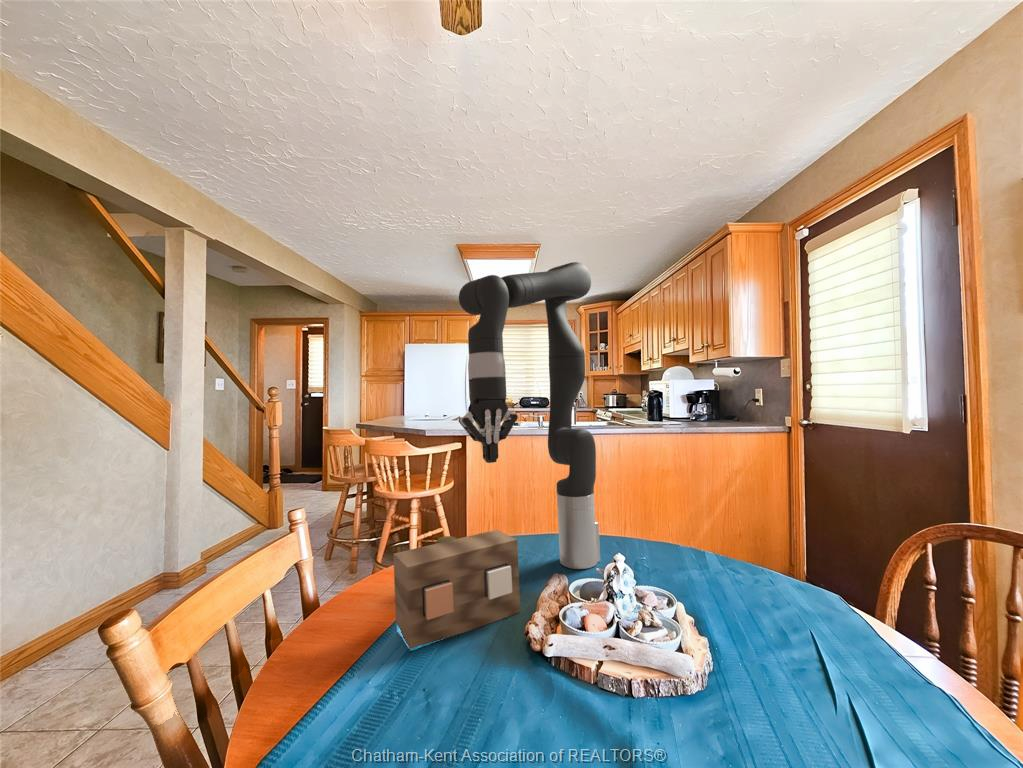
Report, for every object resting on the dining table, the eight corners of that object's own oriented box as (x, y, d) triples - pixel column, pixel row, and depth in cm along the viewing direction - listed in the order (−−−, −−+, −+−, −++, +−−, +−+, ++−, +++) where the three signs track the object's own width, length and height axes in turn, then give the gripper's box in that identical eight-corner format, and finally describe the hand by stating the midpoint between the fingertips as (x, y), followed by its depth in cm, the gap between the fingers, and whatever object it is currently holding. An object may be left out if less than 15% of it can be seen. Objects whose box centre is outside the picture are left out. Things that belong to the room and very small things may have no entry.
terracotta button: (435, 593, 81) (434, 567, 81) (453, 611, 74) (452, 583, 74) (410, 600, 78) (409, 574, 79) (427, 620, 71) (426, 591, 71)
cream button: (490, 577, 87) (489, 553, 87) (512, 592, 80) (511, 566, 80) (469, 583, 85) (468, 558, 85) (489, 599, 77) (488, 573, 78)
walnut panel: (499, 596, 89) (497, 529, 90) (520, 612, 82) (517, 539, 83) (396, 630, 78) (393, 553, 78) (410, 652, 71) (407, 567, 71)
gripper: (505, 377, 93) (509, 456, 92) (449, 377, 86) (452, 464, 85) (524, 374, 86) (528, 460, 86) (465, 375, 79) (469, 468, 79)
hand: (490, 462), depth 85 cm, fingers closed
